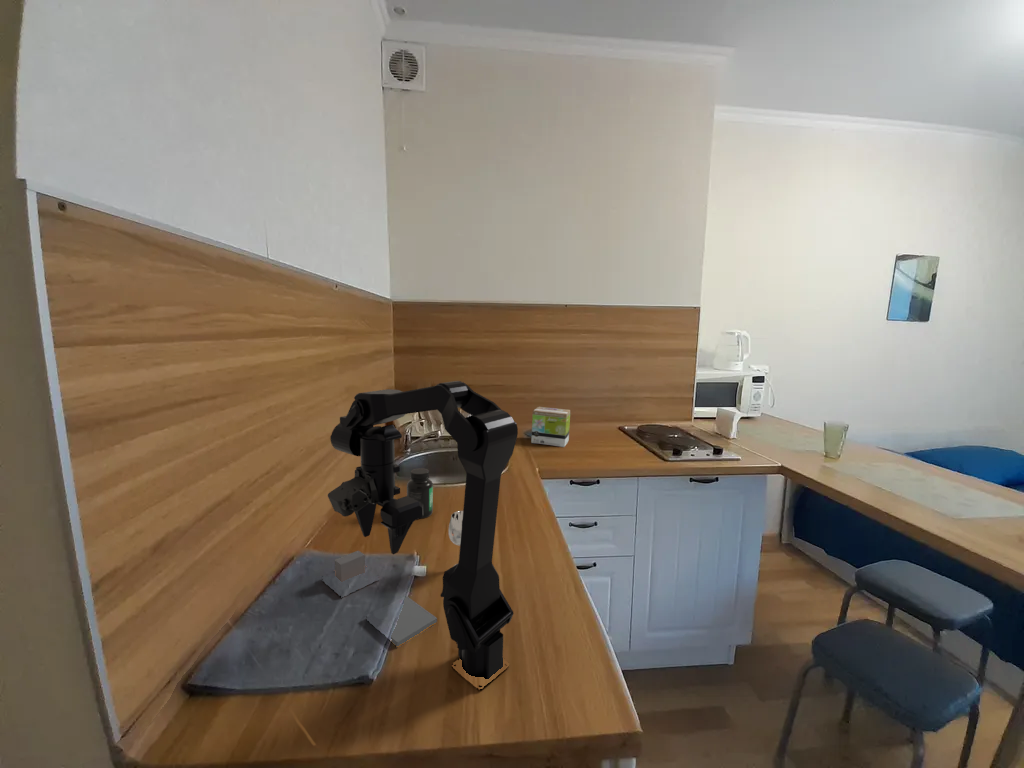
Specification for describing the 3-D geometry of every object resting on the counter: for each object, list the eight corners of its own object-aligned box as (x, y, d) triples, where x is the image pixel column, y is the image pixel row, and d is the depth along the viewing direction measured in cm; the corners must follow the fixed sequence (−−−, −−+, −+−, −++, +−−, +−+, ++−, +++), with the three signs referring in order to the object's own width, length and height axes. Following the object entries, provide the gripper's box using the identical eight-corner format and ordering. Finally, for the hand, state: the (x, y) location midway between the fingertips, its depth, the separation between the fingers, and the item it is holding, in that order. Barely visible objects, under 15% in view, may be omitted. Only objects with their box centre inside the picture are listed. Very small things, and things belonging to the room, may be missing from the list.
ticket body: (437, 624, 76) (437, 617, 76) (397, 649, 70) (397, 641, 70) (405, 600, 82) (405, 594, 82) (366, 621, 76) (366, 614, 76)
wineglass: (462, 558, 97) (462, 507, 96) (481, 568, 94) (482, 515, 92) (442, 569, 93) (442, 515, 91) (461, 580, 89) (462, 524, 88)
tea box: (530, 443, 190) (531, 410, 188) (536, 438, 199) (537, 406, 197) (565, 447, 186) (566, 413, 183) (569, 441, 195) (570, 408, 193)
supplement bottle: (437, 514, 119) (437, 471, 117) (415, 521, 114) (415, 477, 113) (424, 506, 124) (424, 465, 122) (402, 512, 119) (401, 470, 118)
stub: (379, 580, 88) (379, 557, 87) (341, 598, 82) (340, 573, 81) (358, 565, 93) (358, 543, 93) (321, 581, 87) (320, 557, 87)
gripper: (308, 459, 78) (312, 543, 80) (364, 486, 66) (367, 583, 68) (365, 447, 86) (368, 523, 88) (424, 469, 74) (425, 556, 76)
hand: (380, 544), depth 80 cm, fingers open, 9 cm apart
